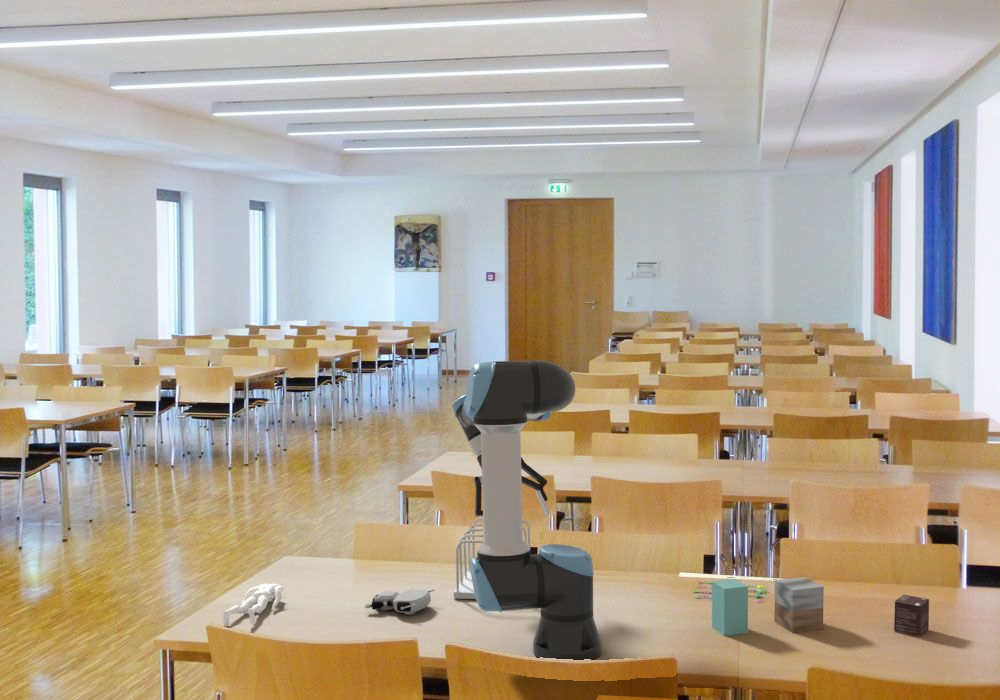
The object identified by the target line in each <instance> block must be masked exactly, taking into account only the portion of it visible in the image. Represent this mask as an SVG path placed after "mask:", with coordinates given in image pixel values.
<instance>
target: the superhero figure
mask: <svg viewBox="0 0 1000 700" xmlns="http://www.w3.org/2000/svg"><path fill="white" fill-rule="evenodd" d="M283 591H284V587H283V586H282V585H280V584H278V583H263V584H259V585H258V586H256V585H255V586H253V587H250V588H249V589H248V590H247V591H246V593H245V595H243V599H241V600H242V601H241V605H240V606H239V605H234V606H231V608H229V609H226V610H224V611H223V626H224V627H229V626H230V615H235V614H240V615H241V614H246V613H248V616H249V622H250V624H252V625H255V624H256V617H255V613H258V614H261V613H262V612H263V611H265V609H266V608H267V605H268V602H269V601H272V600H273V599H274V601H273V603H272V605H271V606H272V607H271V609H270V611H271V613H275V610H276V607H277V606H278V604H279V602H280V600H281V599H285V598H286V596H283V595H286V594H288V593H287V592H286V593H283ZM281 596H283V597H281Z"/></svg>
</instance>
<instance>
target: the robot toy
mask: <svg viewBox="0 0 1000 700" xmlns="http://www.w3.org/2000/svg"><path fill="white" fill-rule="evenodd" d="M435 591H436V590H435V589H431V590H427V589H410V590H405V591H402V592H401V593H398V591H392V590H388V591H387V590H385V591H382V592H380V593H378V594H376V595H374V596H373V598H372V601H371V603H366V604H365V605H364V606H365V607H364V608H365V609H370V608H371V609H372V610H373V611H374V610H379V609H380V610H381V611H388V610H395V611H396V612H397V613H403V614H404V615H407V616H411V615H414V614H416V612H419V611H421V610H423V609H425V608H427V607H428V605H429V604H431V601H432V600H431V599H432V598H431V592H435Z"/></svg>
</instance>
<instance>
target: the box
mask: <svg viewBox="0 0 1000 700" xmlns="http://www.w3.org/2000/svg"><path fill="white" fill-rule="evenodd" d="M929 614H930V599H929V598H925V597H921V596H920V597H919V596H913V595H908V594H903V595H901V596H899V597H898V598H897V599H895V600H894V618H893V619H894V622H893V623H894V628H893V629H894V630H893V631H894V632H895V633H898V634H904V635H910V636H915V637H919V638H920V637H921V636H922V635H924V633H926V632H927V631H928V630H929V623H930V622H929V621H930V620H929V618H930V615H929Z"/></svg>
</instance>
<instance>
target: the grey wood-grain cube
mask: <svg viewBox="0 0 1000 700" xmlns="http://www.w3.org/2000/svg"><path fill="white" fill-rule="evenodd" d="M781 579H782V580H775V581H774V622H775V623H776V624H778V625H779V626H781V627H783V628H784V629H786V630H787V631H788V632H791V633H792V634H793V633H801V632H809V631H816V630H824V598H825V597H824V595H825V594H824V586H823V585H821V584H820V583H817V582H815V581H814V580H811V578H810V579H809V578H808V577H805V576H803V577H800V576H799V577H792V578H781Z"/></svg>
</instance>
